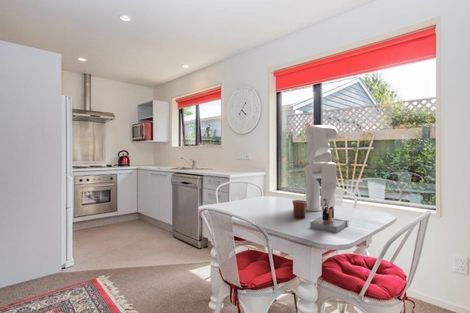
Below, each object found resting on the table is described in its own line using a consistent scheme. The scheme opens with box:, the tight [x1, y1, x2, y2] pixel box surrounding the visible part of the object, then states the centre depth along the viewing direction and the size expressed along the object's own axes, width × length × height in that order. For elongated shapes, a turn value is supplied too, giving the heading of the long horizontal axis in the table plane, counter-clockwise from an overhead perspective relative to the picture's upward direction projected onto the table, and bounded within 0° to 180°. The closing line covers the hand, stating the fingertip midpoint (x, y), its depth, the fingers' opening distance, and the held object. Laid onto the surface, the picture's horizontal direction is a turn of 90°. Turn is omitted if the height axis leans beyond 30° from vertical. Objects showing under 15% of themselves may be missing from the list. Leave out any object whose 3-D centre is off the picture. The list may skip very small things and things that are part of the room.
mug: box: [291, 199, 307, 220], centre depth 168 cm, size 12×9×10 cm
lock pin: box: [323, 208, 332, 223], centre depth 146 cm, size 3×3×10 cm
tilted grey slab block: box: [332, 216, 350, 228], centre depth 153 cm, size 10×3×3 cm, turn 52°
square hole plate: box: [309, 217, 347, 234], centre depth 146 cm, size 14×14×3 cm
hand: (328, 218), depth 146 cm, fingers open, 6 cm apart
